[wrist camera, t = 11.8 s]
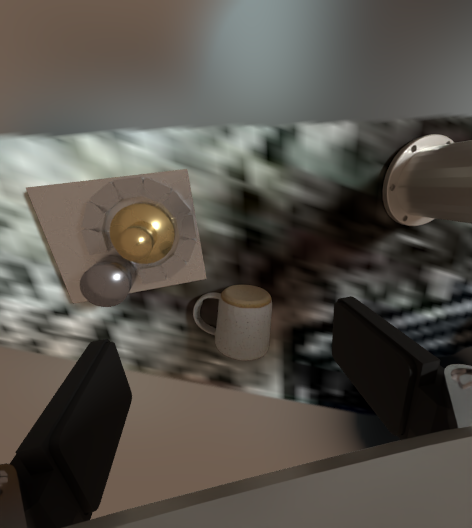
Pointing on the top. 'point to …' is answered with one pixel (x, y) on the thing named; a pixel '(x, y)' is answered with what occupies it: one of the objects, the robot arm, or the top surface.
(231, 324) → the ceramic mug
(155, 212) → the brass door knob
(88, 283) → the carrier
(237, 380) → the top surface
